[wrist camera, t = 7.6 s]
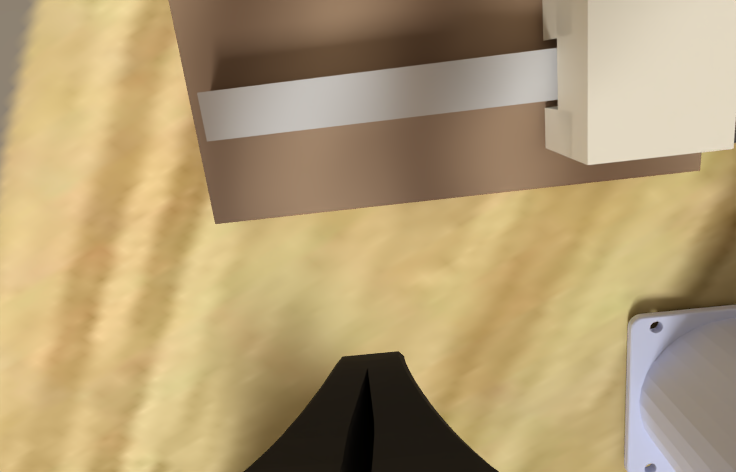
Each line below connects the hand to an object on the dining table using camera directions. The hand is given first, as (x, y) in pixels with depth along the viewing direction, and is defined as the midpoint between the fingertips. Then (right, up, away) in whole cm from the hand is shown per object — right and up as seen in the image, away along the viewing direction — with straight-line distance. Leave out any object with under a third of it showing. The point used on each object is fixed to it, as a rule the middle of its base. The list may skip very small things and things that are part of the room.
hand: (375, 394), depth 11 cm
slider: (+8, +9, +6) cm, 14 cm away
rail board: (+2, +9, +8) cm, 12 cm away
